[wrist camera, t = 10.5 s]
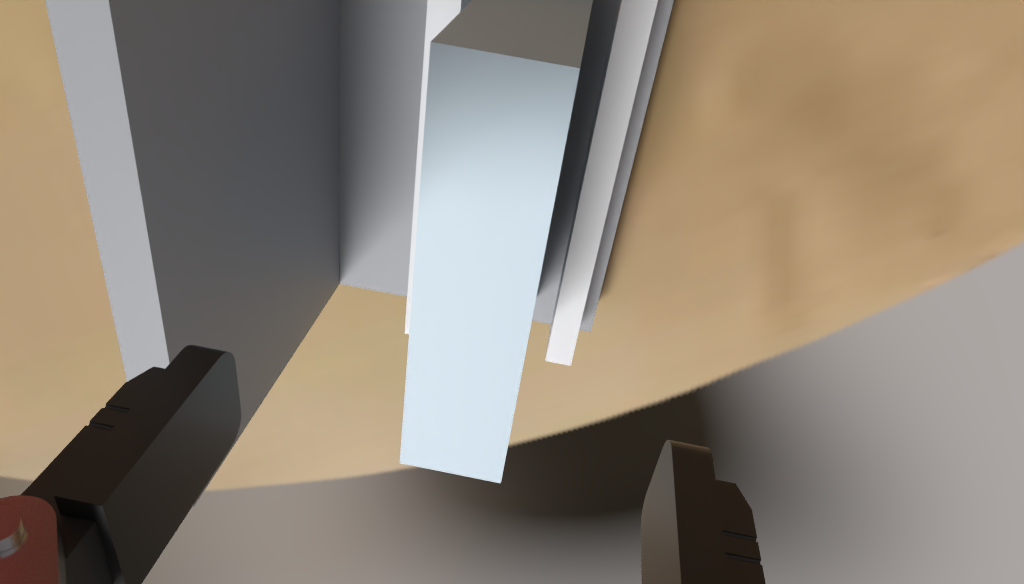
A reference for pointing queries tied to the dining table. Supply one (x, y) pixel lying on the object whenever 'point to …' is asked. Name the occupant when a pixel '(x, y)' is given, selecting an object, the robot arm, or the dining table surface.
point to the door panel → (485, 222)
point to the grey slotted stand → (306, 164)
